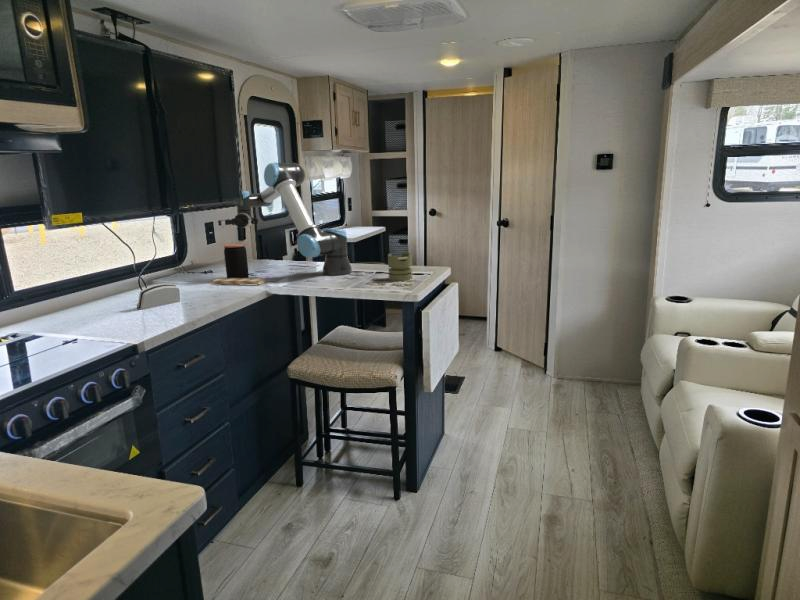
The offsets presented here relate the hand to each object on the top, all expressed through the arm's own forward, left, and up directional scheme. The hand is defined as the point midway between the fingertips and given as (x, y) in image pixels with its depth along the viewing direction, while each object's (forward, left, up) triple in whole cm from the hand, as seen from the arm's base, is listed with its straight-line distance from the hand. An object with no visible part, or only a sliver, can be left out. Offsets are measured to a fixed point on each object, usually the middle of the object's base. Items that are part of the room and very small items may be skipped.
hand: (235, 223), depth 271 cm
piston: (-86, +3, -28) cm, 91 cm away
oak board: (-9, +19, -28) cm, 35 cm away
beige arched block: (+2, +63, -28) cm, 69 cm away
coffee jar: (-3, +9, -28) cm, 29 cm away
